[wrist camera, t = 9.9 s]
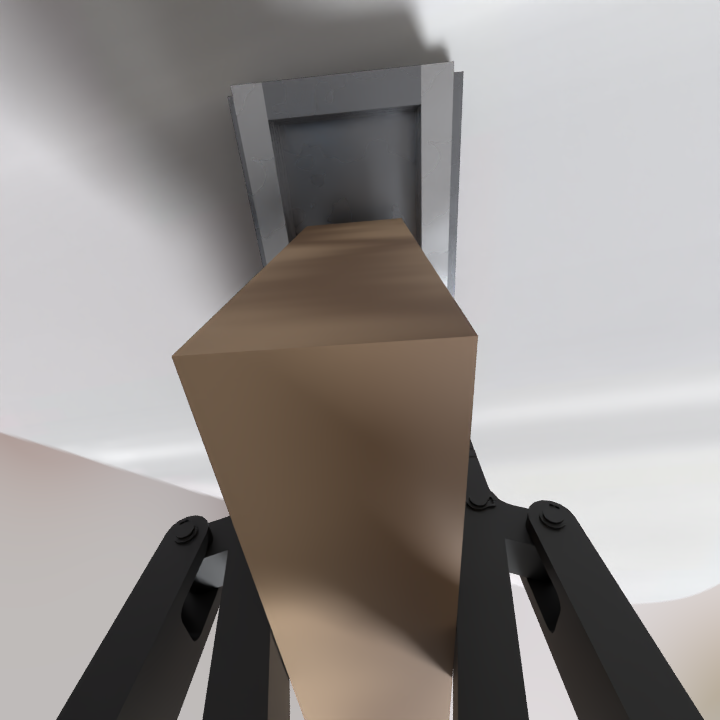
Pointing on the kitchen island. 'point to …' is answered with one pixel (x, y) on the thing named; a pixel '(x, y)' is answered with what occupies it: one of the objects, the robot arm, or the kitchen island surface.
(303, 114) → the door track
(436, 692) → the door panel
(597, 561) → the robot arm
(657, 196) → the kitchen island surface
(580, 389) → the kitchen island surface
